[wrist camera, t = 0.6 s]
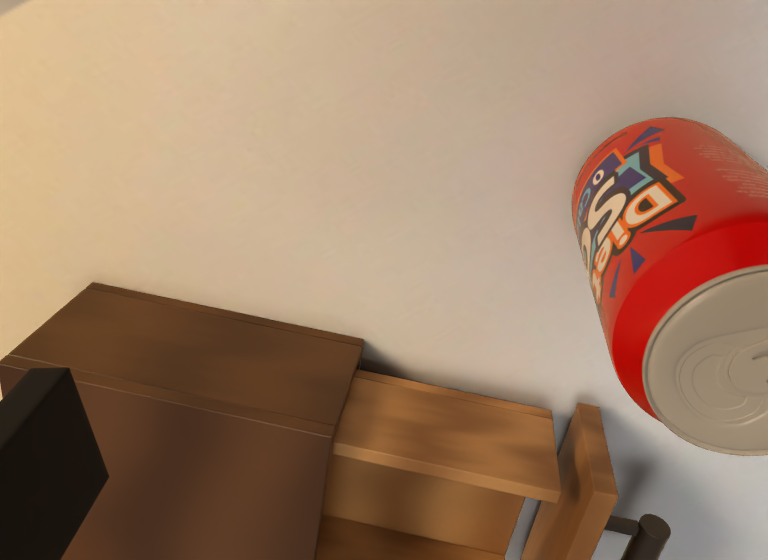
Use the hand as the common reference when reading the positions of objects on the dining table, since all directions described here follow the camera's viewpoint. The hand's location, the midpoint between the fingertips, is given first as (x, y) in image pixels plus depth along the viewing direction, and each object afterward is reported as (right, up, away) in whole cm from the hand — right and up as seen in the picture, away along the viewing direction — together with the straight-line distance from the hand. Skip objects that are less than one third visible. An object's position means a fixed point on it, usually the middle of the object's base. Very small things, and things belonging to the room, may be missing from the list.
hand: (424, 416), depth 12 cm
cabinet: (-11, -6, +30) cm, 33 cm away
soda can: (+12, +7, +20) cm, 24 cm away
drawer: (+5, -9, +28) cm, 30 cm away
